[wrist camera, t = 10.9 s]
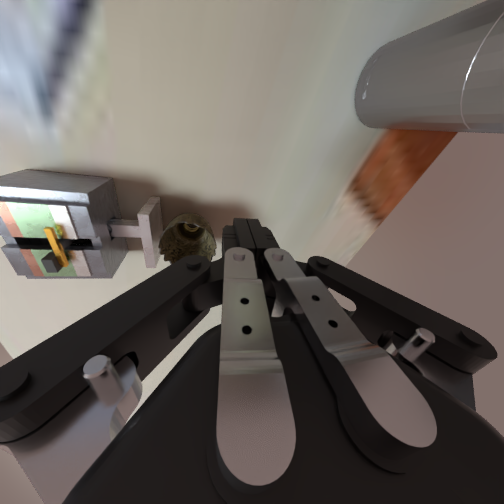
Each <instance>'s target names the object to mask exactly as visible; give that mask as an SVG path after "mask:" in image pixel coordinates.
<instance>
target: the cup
mask: <svg viewBox="0 0 504 504" xmlns="http://www.w3.org/2000/svg"><path fill="white" fill-rule="evenodd" d="M187 224H194V225H196V227H195V228H190V227H189V226H188V225H187ZM159 240H160V241H159V245H158V248H159V253H160V254H161V255H163V254H164V261H170V264H171V265H172V264H173V263H175V262H176V261H178V260H180V259H181V258H183V257H186V256H189V255H200V256H204V257H206V258H207V259H208V260H209V261H210V262H211V260H212V257H213V255H214V256H215V254H216V253H215V249H216V242H215V239H214V235H213V232H212V229H211V227H210V225H209V223H208V222H207V221H206V220H205V219H204V218H203V217H201V216H199V215H197V214H192V213H186V214H181V215H179V216H177V217H176V218H174V219H173V220H172V221H171V222H170V223H169V225H168V226H167V227H166V229H165V230H164V231H163V233H162V235H161V236H160V238H159Z"/></svg>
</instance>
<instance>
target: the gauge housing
mask: <svg viewBox="0 0 504 504" xmlns="http://www.w3.org/2000/svg"><path fill="white" fill-rule="evenodd" d="M110 219H119V220H122V219H121V214H120V210H119V205H118V201H117V196H116V191H115V187H114V182H113V178H107V177H97V176H87V175H77V174H67V173H57V172H48V171H38V170H28V169H25V170H21V171H18V172H14V173H10V174H6V175H3V176H0V235H1V236H2V237H3V239H4V240H5V242H6V245H4V246H3V247H1V249H2V251H3V252H4V254H5V255H6V257H7V259H8V260H9V262H10V263H11V265H12V267H13V268H14V270H15V272H16V273H17V275H25V276H26V277H27V279H47V278H112V277H113V276H114V274H115V272H116V271H117V269H118V268H119V266H120V264H121V263H122V261H123V259H124V258H125V256H126V254H127V253H128V246H127V242H126V237H111V236H110V234H109V231H108V227H107V222H108V221H109V220H110ZM45 227H53V228H54V230H55V232H56V235H57V237H58V239H78V238H82V239H91V241H92V244H75V243H71V244H70V245H69V246H68V247H67V248H66V249H64V250H63V251H64V253H65V256H66V258H67V260H68V263H69V265H68V266H67V267H63V268H62V269H61V270H60V271H59V272H58V273H47V271H46V270H45V268H44V266H43V264H42V262H41V259H42V258H43V257H45V256H46V255H47V254H48V253H49V252H54V251H53V249H52V247H51V245H50V243H49V240H48V238H47V236H46V234H45V232H44V228H45Z"/></svg>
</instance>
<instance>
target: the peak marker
mask: <svg viewBox="0 0 504 504" xmlns="http://www.w3.org/2000/svg"><path fill="white" fill-rule="evenodd" d="M41 262H42V264H43V266H44V268H45V270H46V271H47V273H58V272H59V271H60V270H61V269H62V268H63V267H61V266H60V264H59V262H58V260H57V258H56V256H55V253H54V252H49V253H48V254H47V255H46V256H45V257H43V258H42V259H41Z"/></svg>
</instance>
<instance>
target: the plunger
mask: <svg viewBox="0 0 504 504" xmlns="http://www.w3.org/2000/svg"><path fill="white" fill-rule="evenodd" d="M137 215H138V221H136V220H119V219H110V220H109V221H108V222H107V227H108V231H109V234H110V236H111V237H136V238H141V239H142V245H143V251H144V257H145V262H146V268H156V266H157V263H158V260H159V257H160V253H159V248H158V245H159V241H160V240H159V238H160V236H161V235H162V233H163V223H162V213H161V203H160V197H153V196H151V197H150V198H149V200H148V201H147V202H146V204H145V205H144V206H143V208H142V209H141V210H140V212H139V213H138V214H137ZM44 232H45V234H46V236H47V238H48V240H49V243H50V245H51V247H52V249H53V251H54V253H55V256H56V258H57V260H58V262H59V264H60V266H61V267H67V266H68V265H69V263H68V260H67V258H66V256H65V253H64V251H63V250H64V249H66V248H67V247H68V246H69V245H70V244H71V243H72V242H73V241H74V240H76V239H58V237H57V235H56V232H55V230H54V228H53V227H45V228H44Z"/></svg>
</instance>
